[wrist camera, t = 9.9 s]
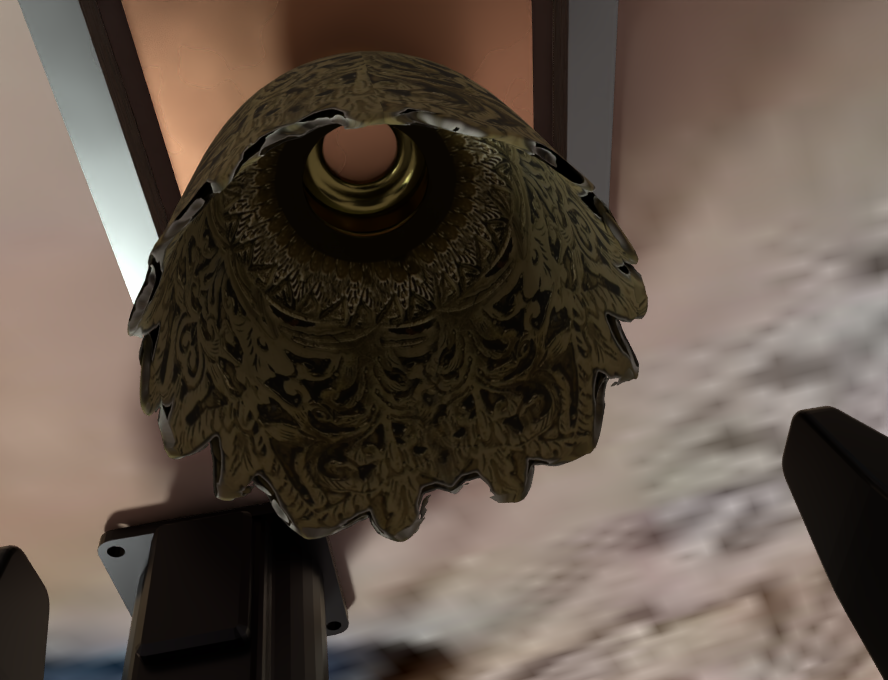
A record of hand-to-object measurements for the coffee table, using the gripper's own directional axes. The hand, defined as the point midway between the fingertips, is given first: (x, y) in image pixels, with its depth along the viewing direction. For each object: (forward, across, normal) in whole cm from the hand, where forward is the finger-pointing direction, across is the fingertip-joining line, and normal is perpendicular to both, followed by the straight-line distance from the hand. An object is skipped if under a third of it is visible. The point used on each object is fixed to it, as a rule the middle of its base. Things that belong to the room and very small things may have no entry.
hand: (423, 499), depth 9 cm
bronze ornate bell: (+11, 0, 0) cm, 11 cm away
